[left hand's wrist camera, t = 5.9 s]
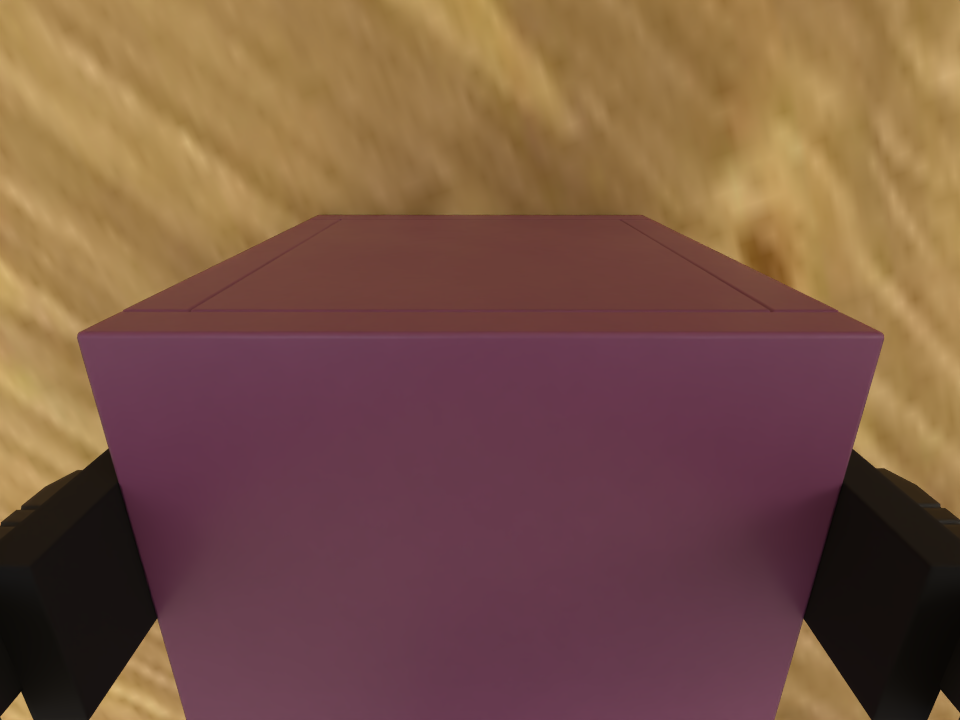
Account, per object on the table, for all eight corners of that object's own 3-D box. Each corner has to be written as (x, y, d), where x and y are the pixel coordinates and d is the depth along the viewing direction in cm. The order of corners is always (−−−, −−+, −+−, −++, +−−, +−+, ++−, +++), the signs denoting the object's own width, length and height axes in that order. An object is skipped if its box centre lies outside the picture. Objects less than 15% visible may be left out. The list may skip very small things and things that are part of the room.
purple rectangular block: (597, 648, 26) (685, 1034, 15) (362, 648, 26) (274, 1034, 15) (643, 215, 19) (889, 332, 7) (317, 214, 19) (72, 332, 7)
